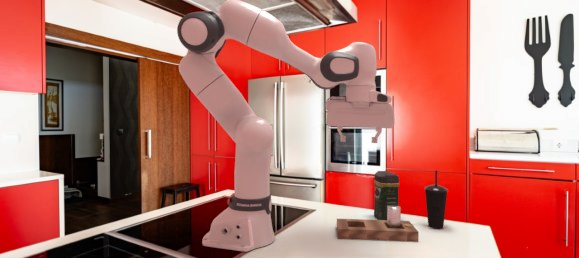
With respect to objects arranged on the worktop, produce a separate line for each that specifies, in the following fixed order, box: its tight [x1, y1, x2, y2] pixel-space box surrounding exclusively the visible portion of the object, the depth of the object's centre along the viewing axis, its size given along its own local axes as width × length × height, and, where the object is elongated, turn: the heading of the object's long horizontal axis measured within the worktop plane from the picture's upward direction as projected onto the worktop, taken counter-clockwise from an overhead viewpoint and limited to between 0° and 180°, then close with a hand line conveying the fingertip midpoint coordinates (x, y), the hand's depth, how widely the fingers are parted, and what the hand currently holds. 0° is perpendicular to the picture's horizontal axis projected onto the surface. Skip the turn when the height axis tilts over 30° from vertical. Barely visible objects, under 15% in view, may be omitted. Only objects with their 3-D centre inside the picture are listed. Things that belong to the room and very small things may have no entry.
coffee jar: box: [373, 170, 400, 220], centre depth 114 cm, size 10×8×19 cm
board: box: [336, 218, 419, 243], centre depth 98 cm, size 24×10×4 cm, turn 84°
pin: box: [387, 205, 402, 229], centre depth 97 cm, size 4×4×9 cm
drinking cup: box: [424, 170, 449, 230], centre depth 107 cm, size 8×8×20 cm
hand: (358, 142), depth 93 cm, fingers open, 8 cm apart
